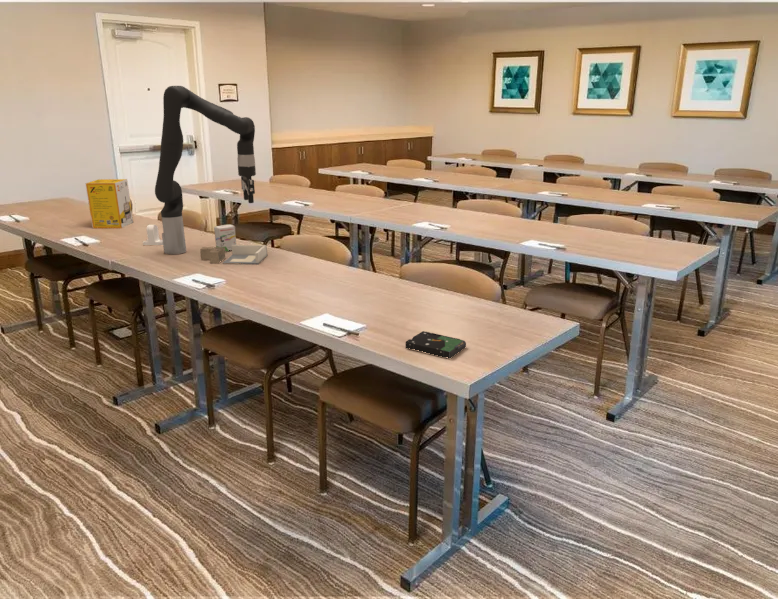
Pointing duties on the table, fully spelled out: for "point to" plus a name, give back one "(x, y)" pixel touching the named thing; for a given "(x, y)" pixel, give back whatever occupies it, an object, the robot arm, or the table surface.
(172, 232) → the robot arm
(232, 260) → the tray
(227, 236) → the ink box
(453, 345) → the disk drive
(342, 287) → the table surface
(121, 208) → the packaging box
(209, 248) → the tan boxy piece
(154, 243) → the cable organizer
